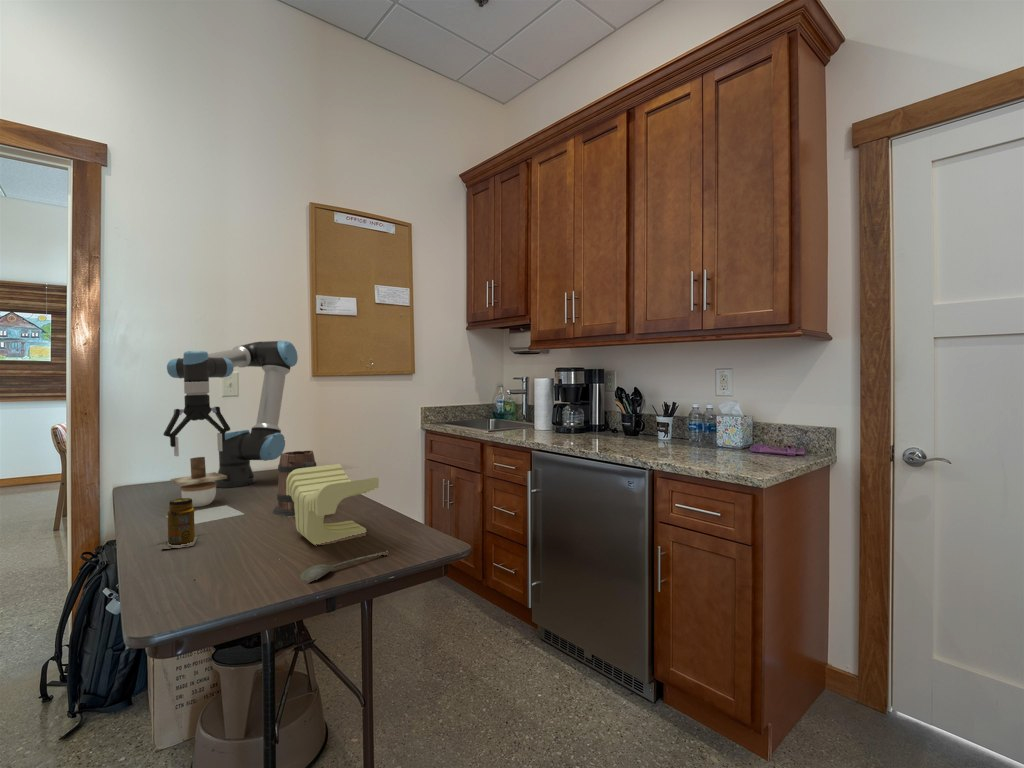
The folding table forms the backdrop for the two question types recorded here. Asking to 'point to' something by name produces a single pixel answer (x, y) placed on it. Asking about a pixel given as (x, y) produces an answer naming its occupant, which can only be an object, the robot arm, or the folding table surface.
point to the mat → (214, 514)
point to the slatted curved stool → (324, 501)
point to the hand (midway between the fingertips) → (198, 453)
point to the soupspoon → (325, 569)
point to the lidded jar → (199, 493)
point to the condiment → (181, 521)
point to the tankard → (285, 467)
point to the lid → (198, 474)
